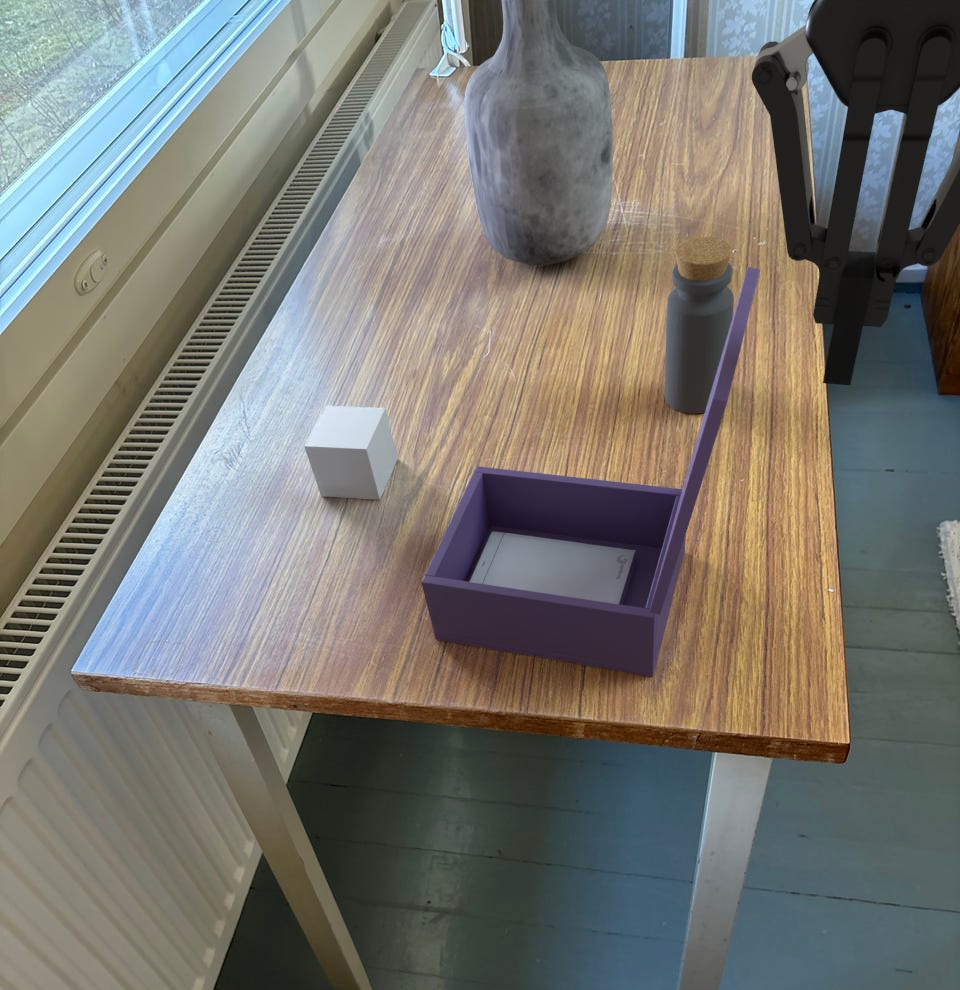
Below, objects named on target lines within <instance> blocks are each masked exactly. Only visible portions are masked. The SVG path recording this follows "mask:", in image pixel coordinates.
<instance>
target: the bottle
mask: <svg viewBox="0 0 960 990" xmlns="http://www.w3.org/2000/svg"><path fill="white" fill-rule="evenodd" d="M732 250H733V249H732V246H731V245H730V243H729V242H727V241H726V240H724V239H722V238H718V237H715V236H697V237H692V238H689V239H686V240H684V241H682V242H681V243H680V244H679V245H678V246H676V249H675V259H676V264H675V265H674V267H673V269H672V272H671V273H672V275H671V281H672V285H673V286H674V288H673V289H672V290H671V291H670V292H669V293H668V296H667V304H666V326H665V327H666V328H665V356H664V357H665V359H664V361H665V362H664V400H665V402H666V404H667V405H668V406H669V407H670V408H671V409H673V410H675V411H677V412H680V413H684V414H689V415H690V414H691V415H692V414H693V415H694V414H695V415H696V414H705V410H706V407H707V403H708V400H709V397H710V393H711V390H712V386H713V383H714V380H715V376H716V373H717V369H718V366H719V363H720V359H721V356H722V352H723V349H724V346H725V342H726V339H727V335H728V332H729V329H730V325H731V322H732V318H733V315H734V303H735V297H734V293H733V291H732V289H730V287H729V284H730V283H731V281H732V279H733V267H732V265H731V263H730V258H731V255H732V253H733V252H732Z"/></svg>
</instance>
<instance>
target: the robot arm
mask: <svg viewBox="0 0 960 990" xmlns="http://www.w3.org/2000/svg"><path fill="white" fill-rule="evenodd" d="M812 54H813V55H814V57H815V59H816V61H817V63H818V65H819V67H820V68H821V70H822V72H823V74H824V76H825V78H826V79H827V81H828V82H829V85H830V86H831V88H832V90H833V92H834V93H835V96H836V97H837V99H838V100H839V101H840V103H841V104H843V105H844V106H845V107H847V110H846V116H845V123H844V129H843V133H842V139H841V140H842V141H841V146H840V153H839V158H838V164H837V168H836V169H837V170H836V177H835V180H834V181H835V182H834V188H833V194H832V198H831V199H832V200H831V205H830V212H829V217H828V223H827V227H824V226H822V225H820V224H817V220H816V210H815V209H816V208H815V200H814V191H813V180H812V171H811V170H812V169H811V161H810V152H809V151H810V150H809V140H808V132H807V131H808V130H807V122H806V113H805V112H806V111H805V103H804V94H803V90H802V89H803V88H804V86H805V85H806V82H807V80H808V77H809V73H810V71H809V70H810V66H809V61H808V59H809V58H810V56H812ZM751 82H752V85H753V87H754V89H755V90H756V93H757V94H758V96H759V98H760V100H761V102H762V103H763V105H764V108H765V109H766V111H767V113H768V115H769V118H770V124H771V125H770V126H771V131H772V132H771V133H772V134H771V135H772V141H773V149H774V158H775V165H776V172H777V180H778V190H779V196H780V197H779V198H780V205H781V211H782V213H781V214H782V221H783V228H784V229H783V230H784V235H785V244H786V252H787V256H788V257H789V258H790V259H791V260H792V261H795V262H801V261H804V260H806V261H809V262H811V263H813V264H814V265H816V267H817V268H818V272H819V277H818V283H817V289H816V295H815V299H814V300H815V301H814V306H813V314H812V317H813V320H814V323H815V324H819V325H820V324H821V325H832V327H831V334H830V338H829V343H828V349H827V354H826V359H825V360H826V361H825V366H824V372H823V378H822V379H823V380H822V384H829V385H840V386H851V385H852V384H851V383H852V380H853V374H854V370H855V364H856V360H857V355H858V351H859V348H860V347H859V346H860V342H861V337H862V332H863V327H876V328H882V326H883V325H884V324H885V322H886V321H887V319H888V317H889V311H890V307H891V303H892V298H893V294H894V290H895V286H896V282H897V280H898V278H899V276H900V273H901V272H902V271H904V269H906V268H908V267H910V266H915V265H921V266H922V267H929V266H933V265H935V264H936V263H938V262H939V261H940V259H941V258H942V257H943V254H944V253H945V252H946V249H947V247H948V245H949V244H950V242H951V240H952V238H953V236H954V235H955V233H956V231H957V229H958V227H959V226H960V147H959V148H958V150H957V151H956V153H955V155H954V157H953V160H952V161H951V163H950V165H949V167H948V169H947V171H946V173H945V175H944V177H943V179H942V181H941V183H940V184H939V187H938V189H937V190H936V192H935V195H934V196H933V198H932V200H931V202H930V204H929V206H928V208H927V210H926V212H925V214H924V216H923V218H922V219H921V221H920V223H919V225H918V227H915V228H912V229H910V225H911V222H912V216H913V212H914V209H915V208H914V207H915V203H916V199H917V195H918V190H919V188H920V182H921V178H922V173H923V169H924V164H925V160H926V156H927V153H928V147H929V144H930V140H931V137H932V134H933V129H934V126H935V121H936V117H937V112H938V108H939V106H942V105H943V104H944V103H947V101H949V99H950V98H952V97H953V96H954V95H955V94H956V93H957V92H958V90H959V89H960V0H813V2H812V4H811V5H810V8H809V10H808V14H807V17H806V21H805V25H803V26H802V27H800V28H799V29H797V30H796V31H794V32H793V33H791V34H790V35H789V36H787V37H785V38H784V39H782V40H781V41H780V42H779V41H776V40H775V41H768V42H766V43H764V45H762V46H761V47H760V50H759V52H758V54H757V57H756V60H755V63H754V67H753V69H752V72H751ZM887 111H888V112H889V111H893V112H894V111H895V112H898V113H901V114H903V116H902V117H903V118H902V121H901V122H902V123H901V127H900V131H899V137H898V141H897V145H896V146H897V147H896V150H895V156H894V160H893V165H892V170H891V175H890V180H889V185H888V189H887V194H886V198H885V199H886V200H885V204H884V208H883V214H882V218H881V222H880V223H881V224H880V228H879V233H878V237H877V242H876V248H875V251H856V250H855V251H854V250H850V246H851V241H852V236H853V235H852V234H853V231H854V230H853V229H854V224H855V219H856V214H857V209H858V203H859V199H860V193H861V188H862V182H863V177H864V173H865V168H866V162H867V156H868V151H869V146H870V141H871V136H872V132H873V126H874V122H875V116H876V115H877V114H880V113H884V112H887Z"/></svg>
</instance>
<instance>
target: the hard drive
mask: <svg viewBox="0 0 960 990" xmlns="http://www.w3.org/2000/svg"><path fill="white" fill-rule="evenodd" d="M636 561H637V557H636V551H635V550H628V549H621V548H613V547H606V546H598V545H591V544H584V543H577V542H570V541H562V540H555V539H548V538H540V537H533V536H525V535H518V534H510V533H502V532H494V531H493V532H492V533H491V534H490V536H489V539H488V541H487V543H486V546H485V548H484V550H483V552H482V555H481V557H480V559H479V561H478V564H477V566H476V568H475V570H474V573H473V575H472V577H471V580H470V582H473V583H480V584H486V585H493V586H500V587H506V588H513V589H519V590H526V591H533V592H539V593H546V594H553V595H559V596H566V597H573V598H579V599H586V600H593V601H599V602H606V603H613V604H619V605H623V604H624V601H625V598H626V594H627V591H628V588H629V585H630V581H631V578H632V575H633V571H634V568H635V565H636Z"/></svg>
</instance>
